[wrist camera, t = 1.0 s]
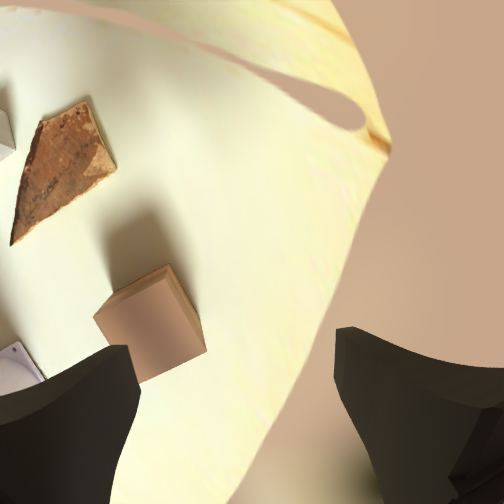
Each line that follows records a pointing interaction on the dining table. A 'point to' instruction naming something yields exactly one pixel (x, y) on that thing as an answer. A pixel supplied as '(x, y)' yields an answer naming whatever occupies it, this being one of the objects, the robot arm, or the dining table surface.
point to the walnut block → (153, 323)
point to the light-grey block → (5, 137)
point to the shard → (60, 167)
